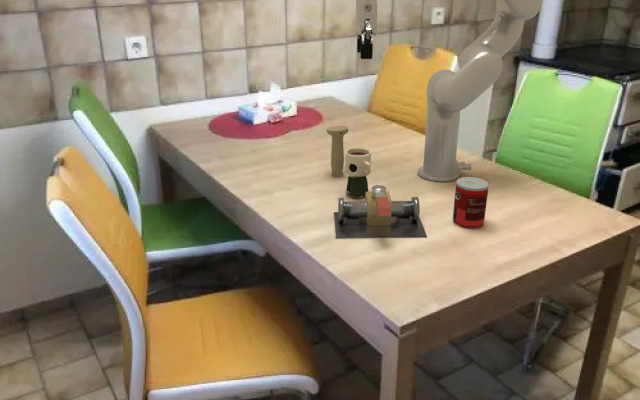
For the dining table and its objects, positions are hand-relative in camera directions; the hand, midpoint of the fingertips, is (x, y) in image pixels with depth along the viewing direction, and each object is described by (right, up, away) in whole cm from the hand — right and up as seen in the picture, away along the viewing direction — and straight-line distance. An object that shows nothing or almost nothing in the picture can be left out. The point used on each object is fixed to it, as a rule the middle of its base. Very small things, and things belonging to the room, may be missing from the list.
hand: (364, 55), depth 164 cm
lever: (+2, -41, -21) cm, 46 cm away
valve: (+2, -47, -15) cm, 49 cm away
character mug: (-2, -39, +2) cm, 39 cm away
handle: (-7, -33, +16) cm, 37 cm away
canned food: (+25, -46, -14) cm, 54 cm away
